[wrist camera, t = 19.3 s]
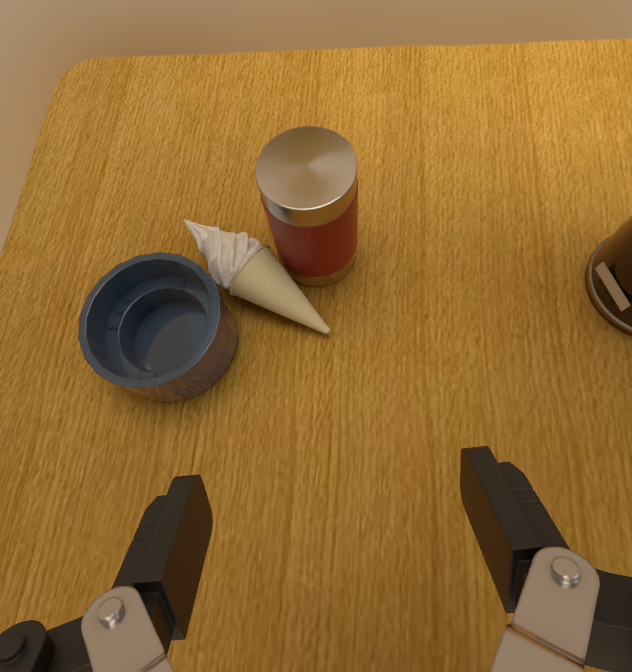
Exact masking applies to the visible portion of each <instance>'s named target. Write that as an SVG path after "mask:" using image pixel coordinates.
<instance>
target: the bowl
mask: <svg viewBox="0 0 632 672" xmlns="http://www.w3.org/2000/svg"><path fill="white" fill-rule="evenodd" d="M78 337H79V342H80V345H81V349H82V352H83V355H84V358H85V359H86V361H87V362H88V363H89V365H90V366H91V367H92V368H93V370H94V371H95V372H96V373H97V374H98V375H100V376H101V377H103V378H105V379H106V380H108V381H110V382H112V383H113V384H115V385H117V386H119V387H122V388H124V389H126V390H128V391H130V392H133V393H135V394H137V395H139V396H141V397H143V398H146V399H149V400H155V401H160V402H173V401H180V400H186V399H189V398H191V397H193V396H195V395H197V394H199V393H201V392H204V391H205V390H207V389H208V388H209V387H210V386H211V385H213V384H214V383H215V382H216V381H217V380H218V379H219V378H220V377H221V376H222V375H223V373H224V372H225V370H226V369H227V367H228V365H229V364H230V362H231V360H232V358H233V356H234V352H235V348H236V344H237V339H238V338H237V324H236V319H235V317H234V314H233V312H232V310H231V308H230V305H229V304H228V302H227V301H226V299H225V298H224V296H223V295H222V293H221V292H220V290H219V289H218V287H217V285H216V284H215V282H214V281H213V279H212V278H211V277H210V276H209V275H208V273H207V272H206V271H205V270H204V269H203V268H202V267H201V266H200V265H199V264H197V263H196V262H193V261H191V260H189V259H187V258H185V257H183V256H181V255H177V254H170V253H162V252H158V253H151V254H145V255H139V256H136V257H134V258H132V259H129V260H127V261H125V262H123V263H120V264H118V265H117V266H116V267H114V268H113V269H112V270H110V271H109V272H108V273H107V274H105V275H104V276H103V277H102V278H101V279H100V280H99V281H98V282H97V284H96V285H95V286H94V288H93V289H92V291H91V292H90V293H89V295H88V297H87V298H86V301H85V303H84V306H83V309H82V311H81V314H80V317H79V333H78Z"/></svg>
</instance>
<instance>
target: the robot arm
mask: <svg viewBox="0 0 632 672" xmlns="http://www.w3.org/2000/svg"><path fill="white" fill-rule="evenodd" d="M586 284H587V289H588V292H589V295H590V297H591V299H592V301H593V303H594V304H595V306H596V307H597V309H598V310H599V311H600V312H601V313H602V315H603V316H604V317H605V318H606V319H608V320H609V321H610V322H611V323H613V324H614V325H615V326H617V327H618V328H620V329H622V330H624V331H626V332H628V333H630V334H632V216H631V217H630V218H629V219H628V220H627V221H626V222H625V223H624V224H623V225H622V226H621V227H620V228H619V229H618V230H617V231H616V232H615V233H614V234H613V235H612V236H611V237H609V238H608V239H606V240H605V241H604V242H603V243H602V244H601V245H600V246H599V247H598V248H597V249H596V250H595V251H594V253H593V254H592V256H591V257H590V259H589V262H588V265H587V269H586ZM460 490H461V497H462V502H463V505H464V508H465V511H466V513H467V516H468V519H469V521H470V524H471V526H472V529H473V531H474V534H475V536H476V539H477V541H478V544H479V546H480V549H481V551H482V554H483V556H484V559H485V561H486V564H487V566H488V569H489V571H490V574H491V576H492V579H493V582H494V584H495V587H496V589H497V592H498V594H499V597H500V599H501V602H502V604H503V607H504V609H505V612H506V613H514V616H513V618H512V621H511V623H510V625H509V624H507V626H506V627H505V629H504V632H503V635H502V637H501V640H500V643H499V646H498V649H497V651H496V654H495V657H494V660H493V663H492V666H491V668H490V671H489V672H583V669H584V665H587V666H590V667H594V668H598V669H602V670H606V671H610V672H632V577H627V576H622V575H617V574H612V573H608V572H604V571H601V570H598V569H596V568H594V567H593V566H592V564H591V563H590V562H589V561H588V560H587V559H585V558H584V557H583V556H581V555H580V554H578V553H576V552H574V551H572V550H570V548H569V547H568V546H567V544H566V542H565V541H564V539H563V537H562V536H561V534H560V532H559V531H558V529H557V527H556V526H555V524H554V522H553V521H552V519H551V517H550V516H549V514H548V513H547V511H546V509H545V508H544V506H543V504H542V503H541V502H540V499H539V498H538V496H537V494H536V493H535V491H533V488H532V486H531V484H530V483H529V481H528V479H527V478H526V476H525V475H524V473H523V472H521V471H520V470H519V469H518V468H516V467H515V466H514V465H513V464H511V463H510V462H502V463H497V461H496V459H495V457H494V455H493V453H492V452H491V450H490V448H489V447H488V446H482V447H472V448H463V449H462V450H461V474H460ZM212 524H213V519H212V511H211V507H210V504H209V500H208V497H207V494H206V491H205V487H204V484H203V481H202V478H201V476H200V475H190V476H180V477H175V478H174V479H173V480H172V482H171V485H170V488H169V490H168V493H167V495H164V496H157V498H156V499H155V500H154V501H153V502H152V503H151V504H150V505H149V507H148V508H147V509H146V510H145V512H144V514H143V517H142V519H141V521H140V524H139V528H137V531H136V533H135V535H134V540H133V541H132V542H131V545H130V547H129V549H128V552H127V554H126V556H125V559H124V561H123V563H122V566H121V568H120V570H119V572H118V575H117V577H116V579H115V582H114V584H113V586H112V588H111V589H110V590H108V591H106V592H104V593H103V594H102V595H100V596H99V597H98V598H97V599H95V600H94V601H93V603H92V604H91V605H90V606H89V607H88V609H87V610H86V612H85V614H84V616H82V617H80V618H78V619H75V620H73V621H70V622H68V623H65V624H63V625H60V626H58V627H55V628H52V629H50V630H47V631H46V629H45V627H44V626H43V624H41V623H40V622H38V621H34V620H30V621H24V622H21V623H18V624H16V625H14V626H12V627H10V628H9V629H7V630H5V631H4V632H3V633H1V634H0V672H174V670H173V668H172V665H171V663H170V661H169V659H168V656H167V654H168V650H169V646H170V643H171V640H183V639H185V638H186V634H187V630H188V626H189V622H190V618H191V614H192V610H193V606H194V602H195V597H196V593H197V589H198V585H199V581H200V577H201V573H202V569H203V565H204V561H205V557H206V553H207V549H208V545H209V540H210V536H211V532H212Z"/></svg>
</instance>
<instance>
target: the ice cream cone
mask: <svg viewBox="0 0 632 672" xmlns="http://www.w3.org/2000/svg"><path fill="white" fill-rule="evenodd" d="M184 221H185V223H186V225H187V226H188V228H189V230H190V232H191V233H192V235H193V237H194V239H195V241H196V243H197V245H198V249H199V251H200V252H201V254H203V255H204V256H205V257H206V258H207V262H208V269H209V273H210V274H211V277H212V279H213V280H214V281H215V282H216V283H217V285H218V286H220V287H222V288H225V289H227V290H229V293H230V295H235V296H238V297H240V298H242V299H245V300H247V301H249V302H252V303H254V304H256V305H259V306H261V307H264V308H266V309H268V310H271V311H273V312H275V313H277V314H279V315H282V316H284V317H286V318H289V319H291V320H293V321H296V322H298V323H301V324H303V325H305V326H308V327H310V328H312V329H315V330H317V331H319V332H322V333H324V334H327V333H328V332H329V331H330V329H329V327H328V326H327V325H326V323H325V322H324V321H323V319H322V318H321V317H320V315H319V314H318V313H317V311H316V310H315V309H314V307H313V306H312V305H311V303H310V302H309V301H308V299H307V298H306V297H305V295H304V294H303V293H302V291H301V290H300V289H299V287H298V286H297V285H296V283H295V282H294V281H293V279H292V278H291V277H290V275H289V274H288V273H287V271H286V270H285V268H284V267H283V266H282V264H281V263H280V262H279V261H278V259H277V258H276V257H275V255H274V254H273V253H272V251H271V250H270V246H269V245H265V246H261V243H260V242H259V241H258V240H257V239H256V238H249V237H248V234H247V233H245V232H241V233H238V234H235V233H228V232H225V231H222V230H219V227H208V226H205V225H201V224H197V223H193V222H190V221H188V220H184Z"/></svg>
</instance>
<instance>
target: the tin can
mask: <svg viewBox="0 0 632 672" xmlns="http://www.w3.org/2000/svg"><path fill="white" fill-rule="evenodd" d="M255 175H256V181H257V184H258V188H259V191H260V196H261V200H262V203H263V207H264V210H265V213H266V216H267V219H268V223H269V226H270V229H271V232H272V235H273V239H274V242H275V245H276V248H277V251H278V254H279V257H280V259H281V262H282V265H283V267H284V268H285V270H286V271H287V273H288V274H289V275H290V277H291V278H292V279H294V280H295V281H297V282H299V283H301V284H304V285H307V286H313V287H321V286H327V285H331V284H333V283H335V282H337V281H339V280H341V279H342V278H343V277H344V276H346V275H347V274H348V272H349V271H350V270H351V268H352V267H353V264H354V262H355V259H356V247H357V217H358V180H357V159H356V155H355V152H354V150H353V148H352V147H351V145H350V144H349V143H348V141H347V140H346V139H345V138H343V137H342V136H341V135H339V134H338V133H336V132H334V131H332V130H329V129H326V128H322V127H315V126H305V127H297V128H294V129H290V130H287V131H285V132H283V133H281V134H279V135H277V136H276V137H274V138H273V139H272V140H271V141H269V142H268V144H267V145H266V146H265V147H264V148H263V150H262V151H261V153H260V155H259V157H258V159H257V163H256V168H255Z"/></svg>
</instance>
